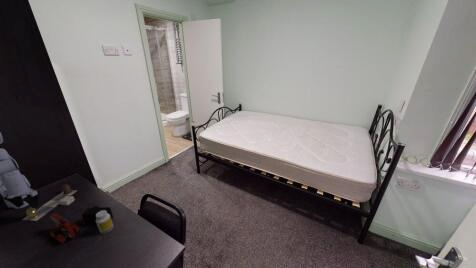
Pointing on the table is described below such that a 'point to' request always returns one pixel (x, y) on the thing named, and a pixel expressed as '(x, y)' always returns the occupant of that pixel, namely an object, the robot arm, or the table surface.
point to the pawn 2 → (66, 189)
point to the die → (67, 200)
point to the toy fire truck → (63, 228)
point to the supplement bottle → (104, 222)
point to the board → (50, 205)
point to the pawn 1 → (32, 213)
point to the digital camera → (94, 214)
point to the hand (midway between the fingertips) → (28, 206)
